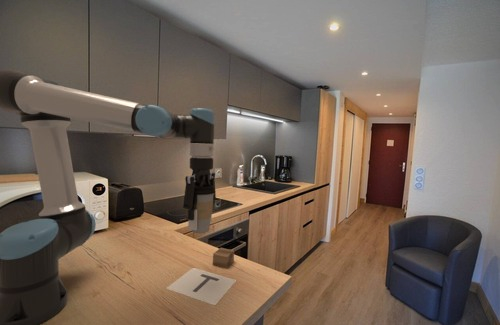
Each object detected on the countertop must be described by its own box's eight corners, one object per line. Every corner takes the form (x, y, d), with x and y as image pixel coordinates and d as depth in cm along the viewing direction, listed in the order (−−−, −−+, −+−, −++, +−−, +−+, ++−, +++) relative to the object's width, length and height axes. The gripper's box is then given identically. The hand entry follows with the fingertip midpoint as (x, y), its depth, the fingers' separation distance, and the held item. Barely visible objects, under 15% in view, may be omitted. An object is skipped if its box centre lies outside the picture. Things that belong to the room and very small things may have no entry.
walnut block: (226, 270, 86) (227, 257, 86) (212, 266, 88) (213, 253, 88) (233, 262, 92) (234, 250, 91) (220, 259, 94) (220, 247, 94)
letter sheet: (214, 306, 66) (214, 305, 66) (166, 289, 73) (166, 288, 73) (236, 280, 79) (236, 280, 79) (193, 268, 86) (193, 267, 86)
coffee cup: (186, 236, 71) (186, 188, 70) (185, 226, 80) (186, 183, 79) (216, 234, 74) (217, 188, 73) (212, 224, 83) (213, 183, 82)
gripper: (192, 159, 64) (190, 238, 66) (226, 156, 84) (225, 218, 85) (170, 157, 67) (169, 233, 69) (208, 155, 87) (207, 215, 88)
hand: (200, 225), depth 77 cm, fingers closed on coffee cup, 8 cm apart
